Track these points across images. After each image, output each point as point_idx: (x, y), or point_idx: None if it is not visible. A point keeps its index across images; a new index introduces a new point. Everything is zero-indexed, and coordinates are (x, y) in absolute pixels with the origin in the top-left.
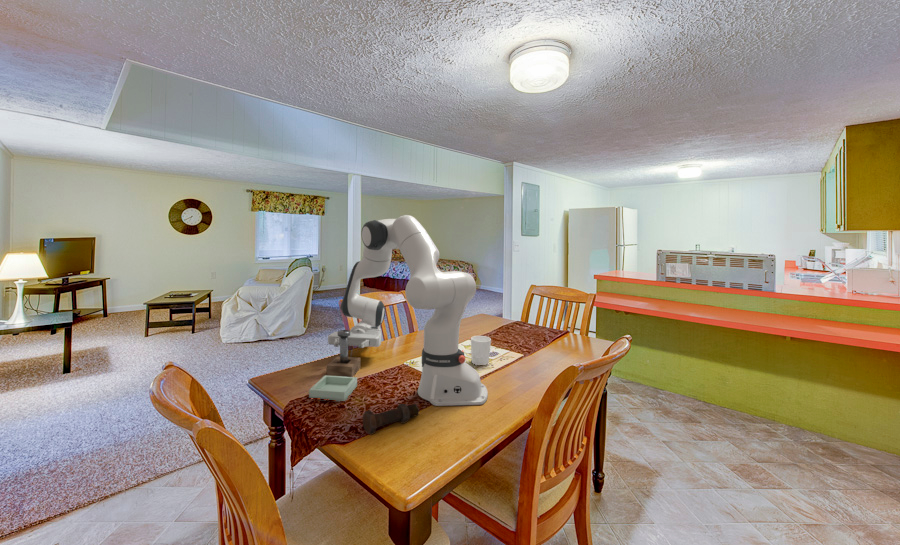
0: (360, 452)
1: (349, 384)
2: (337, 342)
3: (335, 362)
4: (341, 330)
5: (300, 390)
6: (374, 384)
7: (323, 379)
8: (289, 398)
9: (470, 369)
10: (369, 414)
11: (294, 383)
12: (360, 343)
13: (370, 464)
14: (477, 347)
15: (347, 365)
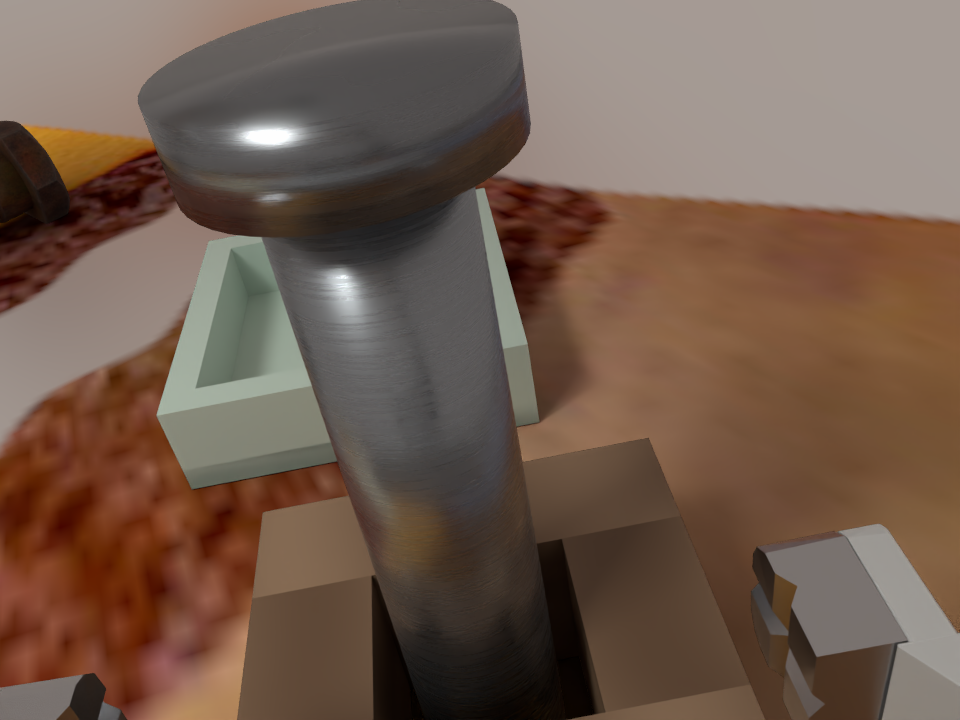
0: (76, 152)
1: (200, 310)
2: (775, 551)
3: (593, 550)
4: (461, 64)
5: (663, 296)
6: (5, 574)
7: None
8: (639, 225)
9: None
10: (3, 123)
11: (839, 344)
12: (30, 688)
13: (38, 140)
14: None
15: (343, 527)
